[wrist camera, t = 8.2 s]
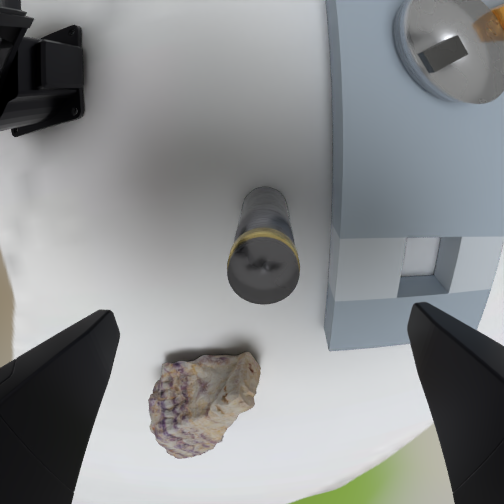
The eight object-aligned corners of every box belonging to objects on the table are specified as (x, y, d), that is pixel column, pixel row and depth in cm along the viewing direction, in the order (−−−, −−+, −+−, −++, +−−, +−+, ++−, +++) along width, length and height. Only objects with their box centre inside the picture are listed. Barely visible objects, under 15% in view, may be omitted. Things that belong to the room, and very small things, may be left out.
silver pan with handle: (369, 14, 11) (387, 0, 9) (513, -35, 7) (535, -43, 5) (435, 121, 13) (461, 126, 11) (557, 47, 9) (582, 47, 7)
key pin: (243, 230, 20) (229, 305, 12) (240, 187, 18) (222, 240, 11) (288, 229, 19) (299, 304, 12) (287, 185, 18) (301, 238, 11)
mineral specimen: (183, 310, 22) (160, 372, 17) (273, 345, 23) (273, 410, 18) (147, 401, 28) (130, 452, 22) (215, 426, 28) (207, 478, 23)
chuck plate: (323, 328, 22) (329, 351, 20) (318, -56, 11) (324, -75, 9) (461, 315, 22) (475, 333, 19) (482, -16, 11) (502, -23, 8)
